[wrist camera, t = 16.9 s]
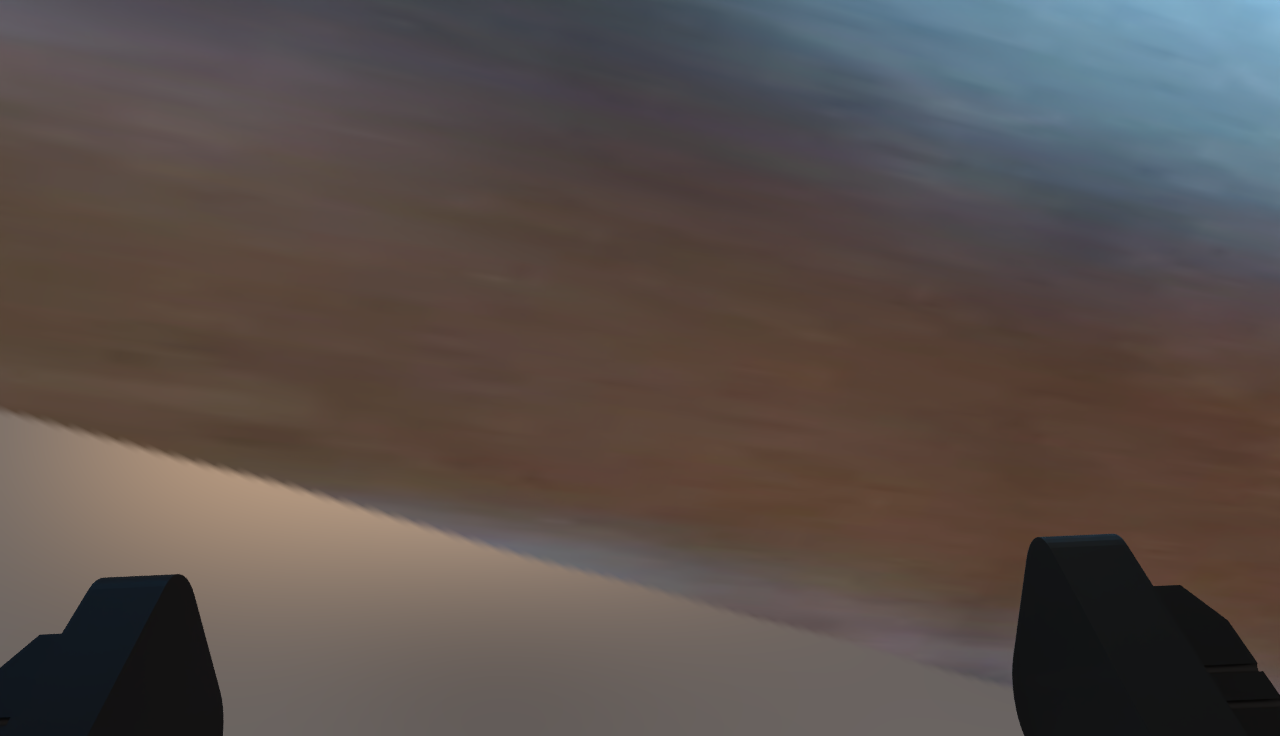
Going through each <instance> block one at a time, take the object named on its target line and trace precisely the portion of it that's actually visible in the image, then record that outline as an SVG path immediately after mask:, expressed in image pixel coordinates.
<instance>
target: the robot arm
mask: <svg viewBox="0 0 1280 736" xmlns="http://www.w3.org/2000/svg"><path fill="white" fill-rule="evenodd" d="M1012 680H1013V692H1014V700H1015V705H1016V711H1017V715H1018V719H1019V722H1020V726H1021V728H1022V731H1023V734H1024V736H1280V695H1279V693H1278V692H1277V690H1276V689H1275V688H1274V686H1273V685H1272V683H1271V682H1270V680H1269V679H1268V678H1267V676H1266V675H1265V673H1264V672H1263V671H1261V672H1259V671H1258V668H1257V662H1256V660H1255V659H1254V657H1253V656H1252V654H1251V653H1250V652H1249V650H1248V649H1247V647H1246V646H1245V644H1244V643H1243V642H1242V640H1241V639H1240V637H1239V636H1238V634H1237V633H1236V631H1235V630H1234V629H1233V627H1232V626H1231V624H1230V623H1229V621H1228V620H1227V619H1225V618H1224V617H1222V616H1221V615H1220V614H1218V613H1217V612H1216V611H1214V610H1213V609H1212V608H1210V607H1209V606H1208V605H1206V604H1205V603H1204V602H1202V601H1201V600H1200V599H1198V598H1197V597H1196V596H1194V595H1193V594H1192V593H1190V592H1189V591H1188V590H1186V589H1185V588H1183V587H1182V586H1181V585H1171V586H1153V585H1152V584H1151V582H1150V580H1149V579H1148V577H1147V576H1146V574H1145V572H1144V571H1143V569H1142V568H1141V566H1140V565H1139V563H1138V561H1137V560H1136V558H1135V557H1134V555H1133V554H1132V552H1131V550H1130V549H1129V547H1128V546H1127V544H1126V543H1125V542H1124V540H1123V539H1122V538H1121V537H1120V536H1118V535H1116V534H1099V535H1077V536H1055V537H1037V538H1035V539H1034V540H1033V541H1032V542H1031V544H1030V547H1029V550H1028V554H1027V559H1026V567H1025V574H1024V582H1023V589H1022V596H1021V604H1020V611H1019V618H1018V626H1017V633H1016V641H1015V648H1014V655H1013V665H1012ZM0 736H223V705H222V698H221V693H220V689H219V685H218V682H217V678H216V674H215V670H214V667H213V663H212V660H211V656H210V652H209V648H208V644H207V641H206V637H205V633H204V629H203V626H202V622H201V618H200V614H199V611H198V607H197V604H196V600H195V596H194V593H193V589H192V587H191V585H190V583H189V581H188V580H187V579H186V578H185V577H184V576H183V575H180V574H175V575H153V576H130V577H108V578H100V579H98V580H97V581H95V582H94V583H93V584H92V586H91V587H90V588H89V590H88V591H87V593H86V595H85V596H84V598H83V600H82V601H81V603H80V605H79V606H78V608H77V610H76V611H75V613H74V615H73V616H72V618H71V619H70V621H69V623H68V624H67V626H66V628H65V629H64V631H63V633H62V634H47V635H39V636H38V637H37V638H35V639H34V640H33V641H32V642H31V643H29V644H28V645H27V646H26V647H25V648H23V649H22V650H21V651H20V652H19V653H17V654H16V655H15V656H14V657H13V658H11V659H10V660H9V661H8V662H7V663H5V664H4V665H3V666H2V667H1V668H0Z"/></svg>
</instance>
